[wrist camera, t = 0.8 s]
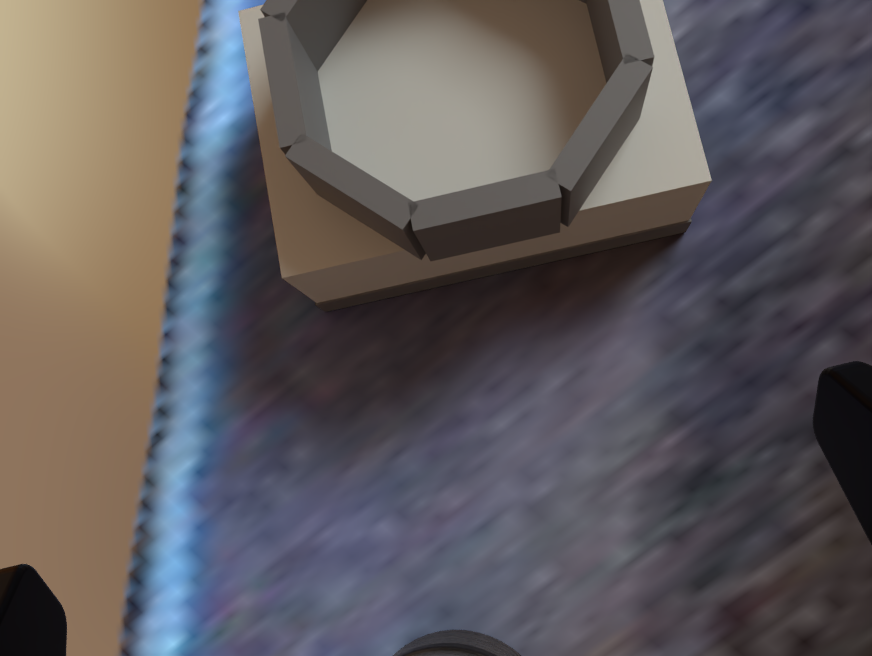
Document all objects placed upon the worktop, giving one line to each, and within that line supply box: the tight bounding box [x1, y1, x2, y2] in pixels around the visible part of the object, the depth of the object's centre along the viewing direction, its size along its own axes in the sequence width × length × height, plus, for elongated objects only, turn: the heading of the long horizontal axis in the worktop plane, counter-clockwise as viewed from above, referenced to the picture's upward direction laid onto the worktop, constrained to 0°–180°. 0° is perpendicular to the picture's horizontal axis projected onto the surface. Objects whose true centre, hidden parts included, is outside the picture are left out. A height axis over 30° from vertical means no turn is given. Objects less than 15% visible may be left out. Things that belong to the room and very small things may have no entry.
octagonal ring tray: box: [238, 0, 712, 312], centre depth 20 cm, size 8×10×6 cm
